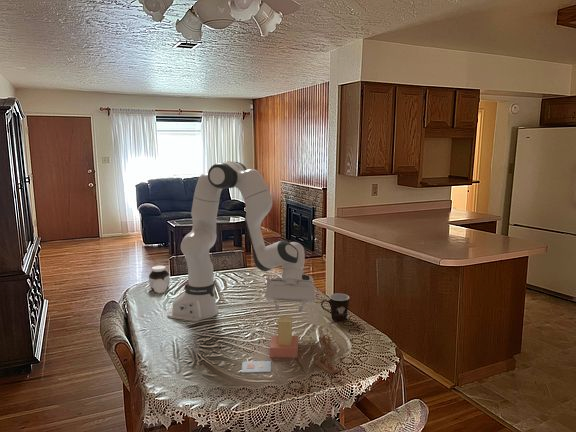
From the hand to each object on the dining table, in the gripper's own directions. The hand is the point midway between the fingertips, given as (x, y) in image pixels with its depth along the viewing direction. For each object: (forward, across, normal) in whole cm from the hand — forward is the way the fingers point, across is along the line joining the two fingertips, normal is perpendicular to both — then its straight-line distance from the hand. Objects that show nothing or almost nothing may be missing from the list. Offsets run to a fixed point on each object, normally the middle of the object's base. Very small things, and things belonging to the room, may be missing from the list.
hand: (288, 310), depth 171 cm
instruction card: (+25, -8, -10) cm, 29 cm away
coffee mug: (-6, +18, +22) cm, 29 cm away
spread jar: (-23, -74, +40) cm, 87 cm away
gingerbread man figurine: (+23, +16, -8) cm, 30 cm away
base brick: (+16, 0, -1) cm, 16 cm away
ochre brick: (+14, 0, -4) cm, 14 cm away
